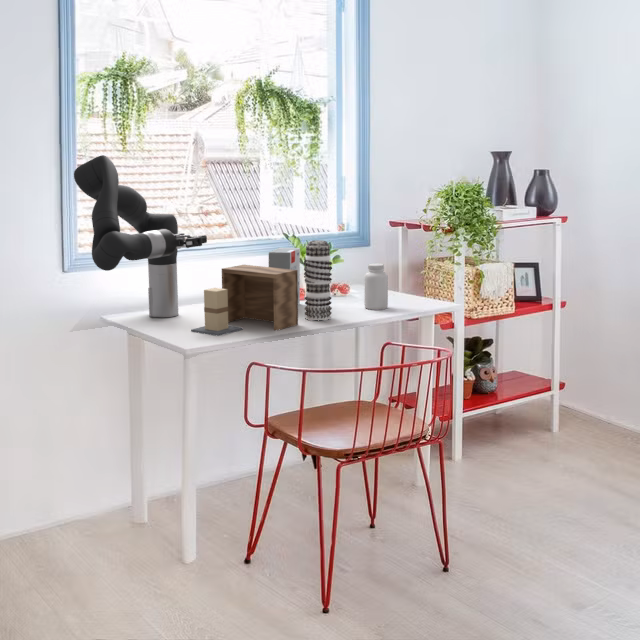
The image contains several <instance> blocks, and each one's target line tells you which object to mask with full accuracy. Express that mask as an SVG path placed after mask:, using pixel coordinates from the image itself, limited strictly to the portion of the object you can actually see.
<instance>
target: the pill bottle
mask: <svg viewBox="0 0 640 640" xmlns="http://www.w3.org/2000/svg"><path fill="white" fill-rule="evenodd" d="M384 265H385V264H383V263H377V262H375V263H369V264H368V265H367V266H368V267H367V269H368V272H365V274H364V308H365V309H366V308H367V310H371V309H372V310H371V311H373V310H374V311H380V310H381V311H382V310H386V309H387V308H388V307H389V287H388V286H389V275H388V273H387V272H385V266H384Z"/></svg>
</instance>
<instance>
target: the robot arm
mask: <svg viewBox="0 0 640 640" xmlns="http://www.w3.org/2000/svg"><path fill="white" fill-rule="evenodd" d="M73 179H74V181H75V183H76V184H75V185H76V186H77V187H78V188H79V189H80V190H81V192H83V193H84V194H85V195H87V196H89V197H90V198H91V199H93V200H95V203H94V206H93V208H92V213H91V224H92V230H93V237H92V243H91V244H92V245H91V259H92V261H93V263H94V264H95V266H96V267H98V269H100V270H103V271H107V272H108V271H111V270H114V269H115V268H116V267H117V266H118V265H119V264H120V262H121V261H122V258H125V259H126V260H128V261H132V262H133V261H140V260H145V259H146V260H147V265H148V266H147V268H148V294H147V295H148V314H149V315H148V316H149V318H151V317H152V318H171V317H176V316H178V315H179V295H178V294H179V292H178V291H179V290H178V289H179V288H178V287H179V286H178V262H177V261H178V260H177V259H178V258H177V257H178V249H183V248H185V249H189V248H195V247H202V246H203V244H206V243H208V238H207V235H206V234H203V235H194V236H193V235H191V234H185V233H182V232H181V233H179V227H178V220H177V218H176V216H175V215H173V214H170V213H152V212H151V213H150V212H148V205H147V200H145V198H144V196H142V195H141V194H140V193H139V192H138V191H137V190H135V189H134V188H133V187H130V186H128V185H123V184H119V183H120V181H119V174H118V170H117V167H116V166H115V164H114V162H113V161H112V160H111V159H110V158H109V157H108V156H106V155H102V154H101V155H98V156H96V157H94V158H91V159H89V160H88V161H86V162H84V163H82V164H80V165H79V166H78V167H76V169H75V170H74V171H73ZM120 219H122V220H123V221H125V222H126V223H128V224H129V226H131V227H133V229H134V230H135V231H136V232H137V233H133V234H130V233H125V232H122V231H121V227H120Z"/></svg>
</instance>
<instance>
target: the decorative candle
mask: <svg viewBox="0 0 640 640" xmlns="http://www.w3.org/2000/svg"><path fill="white" fill-rule="evenodd" d="M330 247H331V245H330V244H329V243H328V241H327V240H319V239H318V240H317V239H315V240H310V241H308V242H307V244H306V245H305V257H304V259H303V260H304V261H303V265H304V269H303V270H304V273H303V275H304V276H305V278H304V283H305V285H306V288H305V290H306V291H305V297H304V299H305V300H306V301H305V302H304V304H305V305H306V306H305V307H304V310H305V312H304V315H305V317H304V318H306V319H305V320H307V319H308V320H307V321H312V320H318V321H317V322H320V321H319V320H324V321H329V320H331V319H332V311H331V310H332V307H331V304H332V301H331V300H332V296H331V290H330V288H331V286H330V284H331V283H332V278H331V276H332V273H331V272H330V271H331V270H332V269H333V267H332V266H331V265H332V264H333V262H332V261H331V254H330V252H331V251H330ZM328 319H329V320H328Z"/></svg>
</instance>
